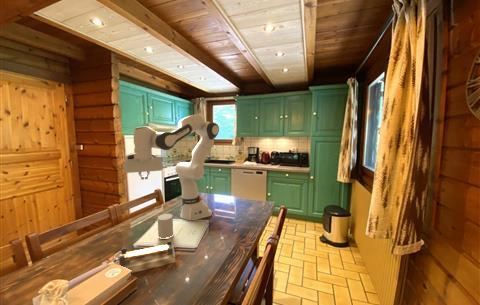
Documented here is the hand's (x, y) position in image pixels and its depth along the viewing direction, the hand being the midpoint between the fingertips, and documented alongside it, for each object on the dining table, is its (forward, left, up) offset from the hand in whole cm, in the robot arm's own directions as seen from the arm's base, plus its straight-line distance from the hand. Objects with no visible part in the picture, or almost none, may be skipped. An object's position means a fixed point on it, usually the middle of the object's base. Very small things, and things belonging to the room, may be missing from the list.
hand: (144, 179), depth 112 cm
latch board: (-1, +25, -34) cm, 42 cm away
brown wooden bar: (-1, +25, -30) cm, 39 cm away
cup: (-10, +5, -34) cm, 36 cm away
